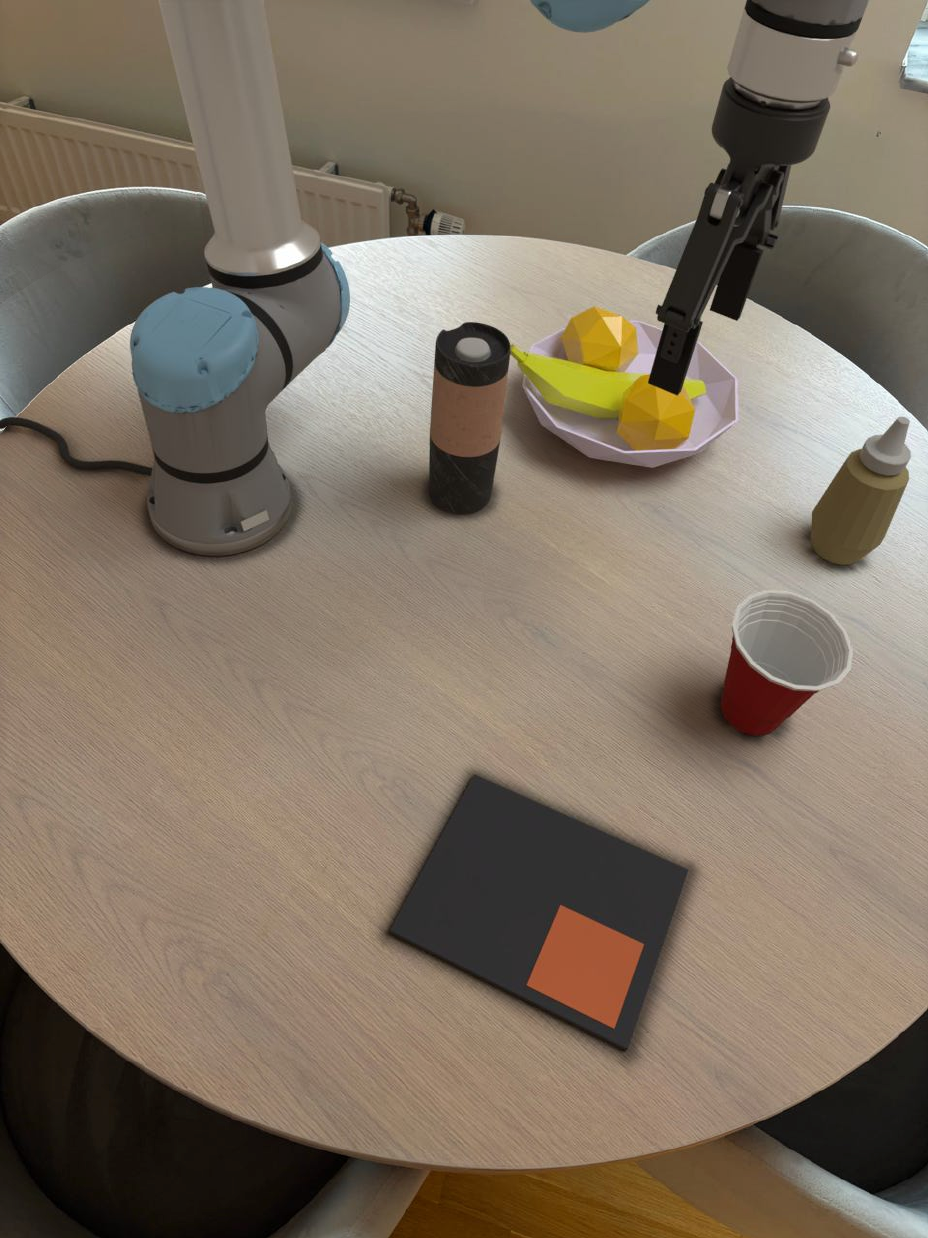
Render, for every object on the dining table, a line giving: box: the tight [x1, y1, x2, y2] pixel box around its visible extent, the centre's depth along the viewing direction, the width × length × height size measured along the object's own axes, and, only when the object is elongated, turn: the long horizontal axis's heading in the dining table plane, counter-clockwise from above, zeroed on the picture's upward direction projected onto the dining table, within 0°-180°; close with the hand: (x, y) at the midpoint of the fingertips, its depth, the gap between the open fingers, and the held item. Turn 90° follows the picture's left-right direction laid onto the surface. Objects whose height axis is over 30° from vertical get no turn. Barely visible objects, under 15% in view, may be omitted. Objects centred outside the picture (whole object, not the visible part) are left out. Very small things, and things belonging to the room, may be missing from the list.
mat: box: [389, 773, 689, 1052], centre depth 78 cm, size 20×16×1 cm
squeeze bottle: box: [810, 416, 912, 566], centre depth 100 cm, size 8×8×18 cm
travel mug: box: [428, 321, 511, 515], centre depth 101 cm, size 8×8×20 cm
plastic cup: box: [720, 589, 854, 736], centre depth 87 cm, size 11×11×12 cm
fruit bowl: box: [510, 306, 739, 469], centre depth 115 cm, size 28×27×11 cm
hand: (695, 349), depth 82 cm, fingers open, 13 cm apart
